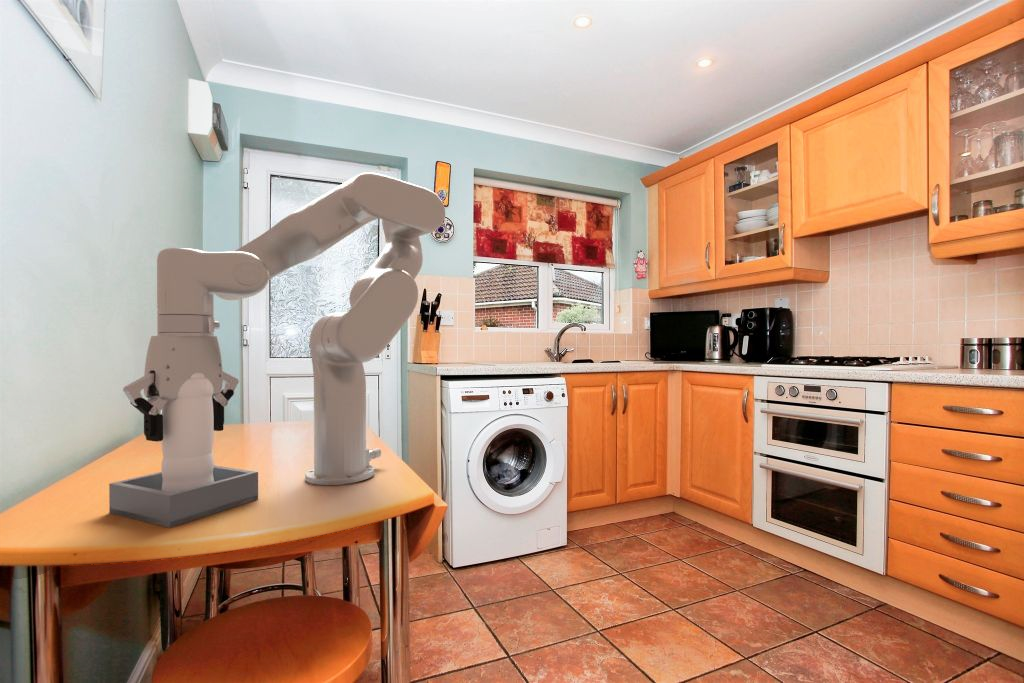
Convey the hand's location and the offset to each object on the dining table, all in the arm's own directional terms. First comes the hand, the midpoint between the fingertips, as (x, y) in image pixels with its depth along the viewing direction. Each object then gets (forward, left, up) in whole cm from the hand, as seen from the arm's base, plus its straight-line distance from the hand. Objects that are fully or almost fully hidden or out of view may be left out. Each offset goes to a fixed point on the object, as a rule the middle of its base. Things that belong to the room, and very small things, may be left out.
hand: (186, 435), depth 79 cm
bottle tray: (0, 0, -11) cm, 11 cm away
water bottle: (0, 0, -11) cm, 11 cm away
